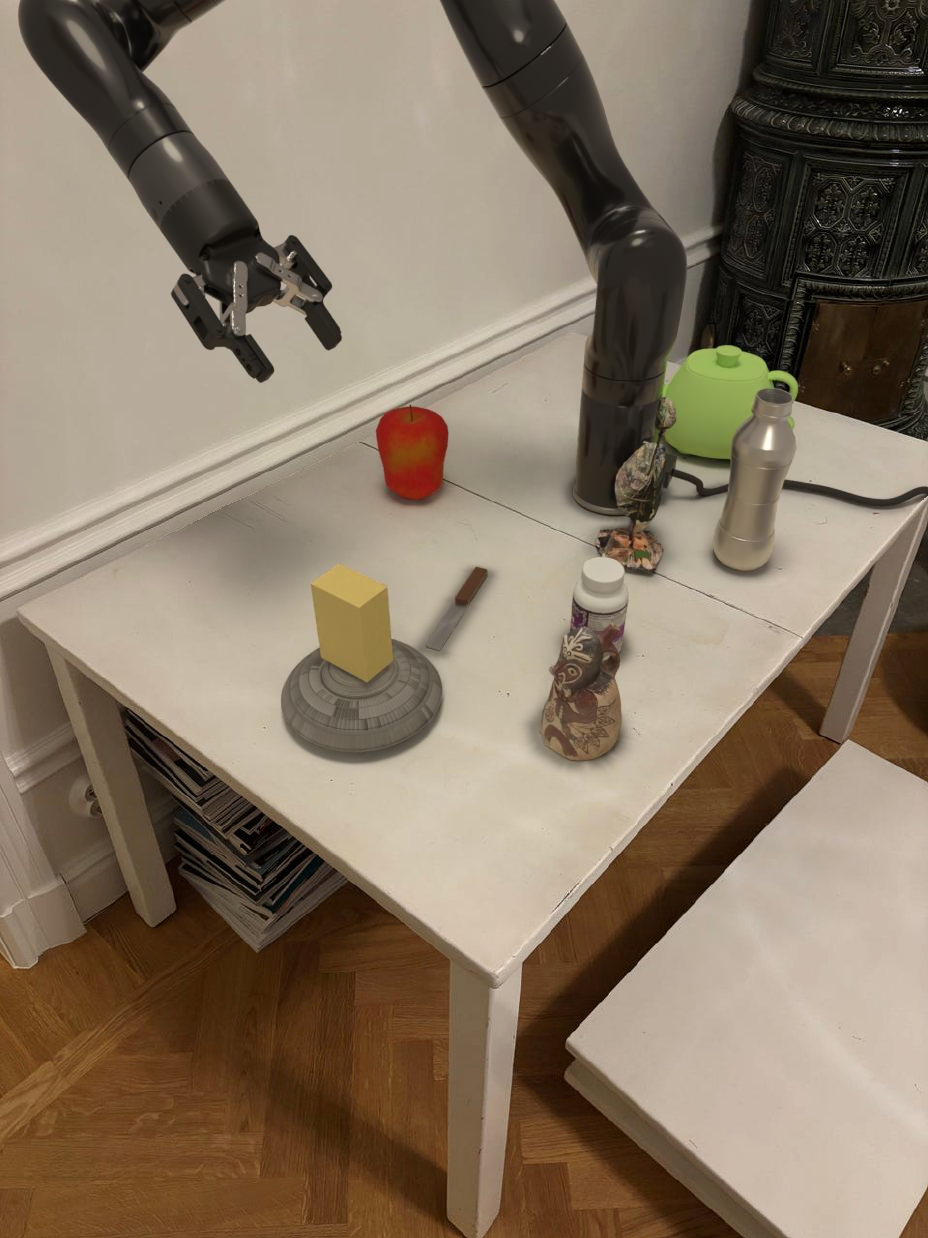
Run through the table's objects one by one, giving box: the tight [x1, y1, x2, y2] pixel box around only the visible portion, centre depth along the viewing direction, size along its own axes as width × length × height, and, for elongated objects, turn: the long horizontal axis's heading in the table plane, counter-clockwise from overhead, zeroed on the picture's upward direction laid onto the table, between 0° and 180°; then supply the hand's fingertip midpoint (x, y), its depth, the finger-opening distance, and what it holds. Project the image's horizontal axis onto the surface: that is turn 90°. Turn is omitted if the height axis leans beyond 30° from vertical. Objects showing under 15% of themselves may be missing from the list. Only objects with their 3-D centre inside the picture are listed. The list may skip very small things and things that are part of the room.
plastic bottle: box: [712, 387, 797, 572], centre depth 99 cm, size 6×7×20 cm
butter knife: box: [425, 566, 488, 651], centre depth 99 cm, size 14×2×1 cm, turn 158°
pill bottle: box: [569, 556, 630, 661], centre depth 92 cm, size 5×5×10 cm
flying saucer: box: [280, 638, 443, 753], centre depth 87 cm, size 15×15×6 cm
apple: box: [375, 404, 450, 501], centre depth 114 cm, size 9×8×12 cm
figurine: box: [539, 623, 623, 761], centre depth 82 cm, size 7×7×12 cm
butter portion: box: [310, 563, 393, 682], centre depth 82 cm, size 4×6×8 cm, turn 53°
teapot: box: [662, 344, 799, 461], centre depth 123 cm, size 22×15×13 cm
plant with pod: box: [595, 396, 677, 574], centre depth 101 cm, size 8×11×20 cm
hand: (303, 360), depth 84 cm, fingers open, 8 cm apart
